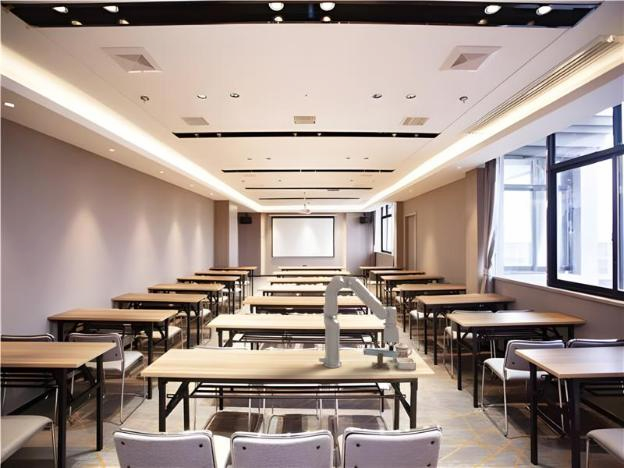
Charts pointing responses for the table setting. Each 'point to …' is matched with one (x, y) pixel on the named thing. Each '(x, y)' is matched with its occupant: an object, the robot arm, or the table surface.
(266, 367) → the table surface
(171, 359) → the table surface
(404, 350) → the teacup with lid
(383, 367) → the stand
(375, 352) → the lever
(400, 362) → the white rectangular tray
